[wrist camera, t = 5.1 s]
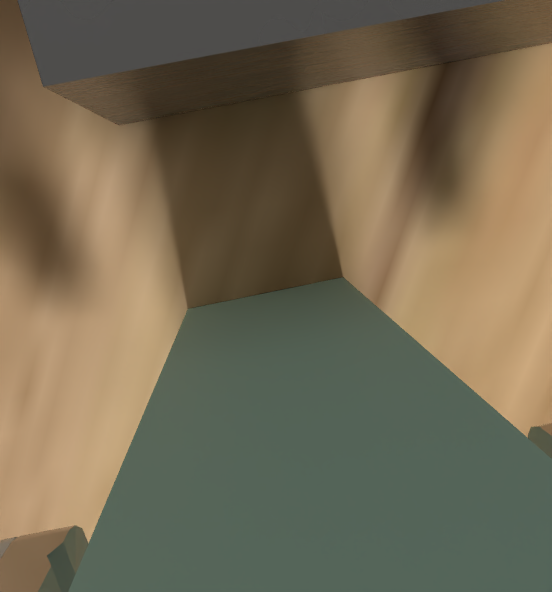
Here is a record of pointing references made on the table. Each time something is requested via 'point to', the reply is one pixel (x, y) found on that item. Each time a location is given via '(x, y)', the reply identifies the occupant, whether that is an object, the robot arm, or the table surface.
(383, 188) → the table surface
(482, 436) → the sage green box
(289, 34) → the collar block
